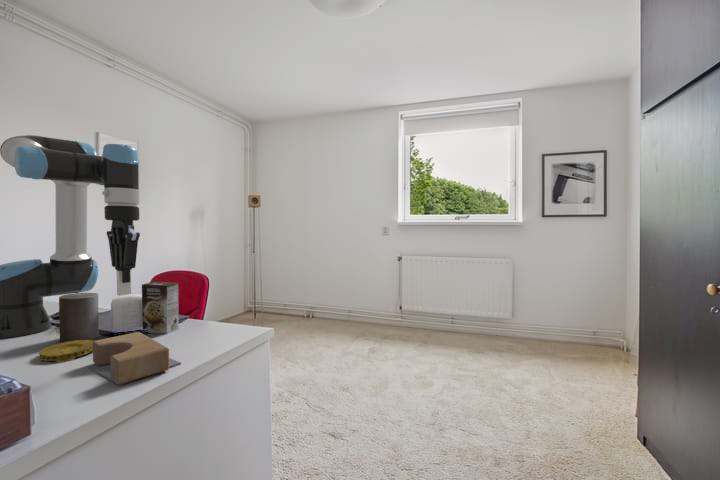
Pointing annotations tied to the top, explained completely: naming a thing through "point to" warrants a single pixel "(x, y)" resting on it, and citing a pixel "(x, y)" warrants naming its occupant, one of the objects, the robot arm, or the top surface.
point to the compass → (66, 350)
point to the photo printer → (126, 312)
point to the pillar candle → (78, 317)
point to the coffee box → (160, 307)
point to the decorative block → (131, 356)
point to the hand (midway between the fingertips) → (124, 294)
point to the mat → (106, 369)
